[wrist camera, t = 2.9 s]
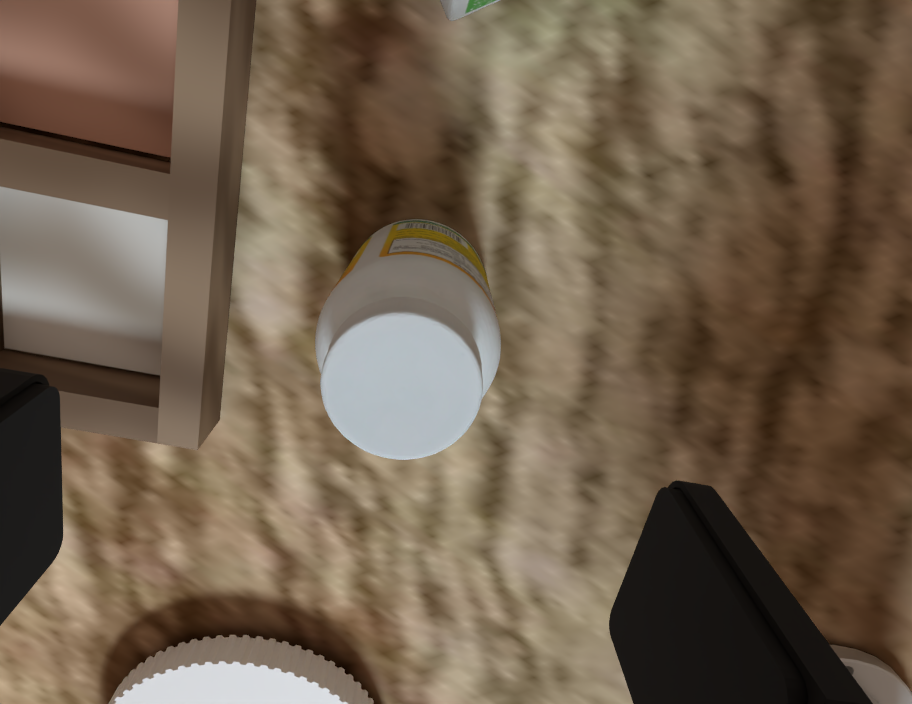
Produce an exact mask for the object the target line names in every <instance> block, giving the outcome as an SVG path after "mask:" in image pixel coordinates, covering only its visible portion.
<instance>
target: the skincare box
mask: <svg viewBox="0 0 912 704" xmlns="http://www.w3.org/2000/svg"><path fill="white" fill-rule="evenodd" d="M440 1H441V4H442V6H443V9H444V11H445V14H446V16H447V18H448V19H449V20H450V21H454V20H457V19H460V18H462V17H464V16H466V15H468V14H471V13H473V12H475V11H477V10H479V9H481V8H484V7H486V6H488V5H490V4H493V3H495V2H497V1H500V0H440Z"/></svg>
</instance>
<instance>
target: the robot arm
mask: <svg viewBox="0 0 912 704" xmlns="http://www.w3.org/2000/svg"><path fill="white" fill-rule="evenodd" d="M62 540H63V506H62V462H61V419H60V394H59V391H58V389H57V388H56V387H53V386H49V382H48V380H47V378H46V377H45V376H44V375H41V374H35V373H29V372H23V371H17V370H11V369H5V368H0V625H1V624H2V623H3V622H4V620H5V619H6V618H7V617H8V616H9V614H10V613H11V612H12V611H13V610H14V608H15V607H16V606H17V605H18V603H19V602H20V601H21V600H22V599H23V597H24V596H25V595H26V594H27V593H28V591H29V590H30V589H31V588H32V587H33V585H34V584H35V583H36V582H37V580H38V579H39V578H40V577H41V576H42V574H43V573H44V572H45V571H46V570H47V568H48V567H49V566H50V565H51V564H52V562H53V561H54V559H55V558H56V556H57V554H58V552H59V550H60V547H61V544H62ZM609 629H610V635H611V638H612V641H613V644H614V647H615V650H616V653H617V656H618V659H619V662H620V665H621V668H622V671H623V674H624V677H625V680H626V683H627V686H628V689H629V691H630V694H631V697H632V700H633V703H634V704H912V692H911V691H910V689H909V688H908V686H907V685H906V684H905V683H904V682H903V681H902V679H901V678H900V677H899V676H898V675H897V674H896V673H895V672H894V670H893V669H892V668H891V667H890V666H888V665H887V664H885V663H884V662H882V661H881V660H879V659H878V658H876V657H875V656H872V655H870V654H867V653H865V652H862V651H860V650H857V649H853V648H848V647H843V646H838V645H829V643H828V642H827V641H826V639H825V638H824V637H823V635H822V634H821V633H820V631H819V630H818V629H817V627H816V626H815V624H814V623H813V622H812V620H811V619H810V618H809V616H808V615H807V614H806V612H805V611H804V610H803V608H802V607H801V606H800V604H799V603H798V601H797V600H796V599H795V597H794V596H793V595H792V593H791V592H790V591H789V589H788V588H787V587H786V585H785V584H784V583H783V581H782V580H781V578H780V577H779V576H778V574H777V573H776V572H775V570H774V569H773V568H772V566H771V565H770V564H769V562H768V561H767V560H766V558H765V557H764V555H763V554H762V553H761V551H760V550H759V549H758V547H757V546H756V545H755V543H754V542H753V541H752V539H751V538H750V537H749V535H748V534H747V532H746V531H745V530H744V528H743V527H742V526H741V524H740V523H739V522H738V520H737V519H736V518H735V516H734V515H733V514H732V512H731V511H730V509H729V508H728V507H727V505H726V504H725V503H724V501H723V500H722V499H721V497H720V496H719V495H718V493H717V492H716V491H715V489H713V488H712V487H711V486H707V485H701V484H695V483H689V482H683V481H674V482H672V483H671V484H670V485H669V487H668V488H666V487H664V488H661V489H660V490H659V491H658V493H657V495H656V498H655V500H654V503H653V505H652V508H651V511H650V513H649V516H648V518H647V521H646V523H645V526H644V528H643V531H642V534H641V536H640V539H639V541H638V544H637V546H636V549H635V551H634V554H633V557H632V559H631V562H630V564H629V567H628V569H627V572H626V574H625V577H624V580H623V582H622V585H621V587H620V590H619V592H618V595H617V597H616V600H615V602H614V605H613V608H612V610H611V614H610V620H609Z"/></svg>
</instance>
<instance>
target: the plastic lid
mask: <svg viewBox="0 0 912 704" xmlns="http://www.w3.org/2000/svg"><path fill="white" fill-rule="evenodd" d="M324 658H325V657H324V656H322V655H318V656H316V655H314V654H313V651H312V650H309V649H308V650H306V651H305V650H302V649H301V646H299V645H295V646H291V645H289V642H286V641H283V642H282V643H279V642H276V639H273V638H270V639H269V640H264V639H263V637H260V636H257V637H256V638H250V636H249V635H243V637H237V636H236V635H230V636H229V637H226V638H224V637H223V636H222V635H218V636H216V638H213V639H211V638H210V637H204V638H203V640H200V641H198V640H197V639H192V640H191V641H190V643H187V644H186V643H185V642H181V643H179V644H178V646H177V647H173V646H170V647H168V648H167V649H166V651H165V652H163V651H159V652H157V653H156V655H155V657H152V656H150V657H148V658H147V659H146V661H145V663H143V662H141V663H139V664H138V666H137V668H136V669H132V670H131V671H130V673H129V675H128V677H127V676H126V677H125V678H124V679H123V681H122V683H121V684H119V686H118V688H117V689H116V691H115V693H114V695H113V696H112V698H111V700H110V702H109V703H108V704H374V700H373V699H372V698H368V692H367V691H366V690H362V689H361V684H360V683H359V682H355V681H353V678H354V677H353V676H352V675H351V674H348V675H347V674H345V673H344V672H345V669H343V668H342V667H339V668H337V667H336V666H335V663H334V662H333V661H326V660H324Z"/></svg>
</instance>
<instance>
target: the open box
mask: <svg viewBox="0 0 912 704" xmlns="http://www.w3.org/2000/svg"><path fill="white" fill-rule="evenodd" d="M255 7H256V0H0V122H4V123H9V124H14V125H18V126H23V127H28V128H33V129H37V130H42V131H47V132H51V133H56V134H61V135H66V136H70V137H75V138H80V139H85V140H89V141H94V142H99V143H104V144H108V145H113V146H118V147H122V148H127V149H132V150H137V151H141V152H146V153H151V154H156V155H160V156H165V157H170V158H171V162H167V161H162V160H158V159H153V158H148V157H143V156H139V155H134V154H129V153H124V152H120V151H115V150H110V149H105V148H101V147H96V146H91V145H86V144H82V143H77V142H72V141H67V140H63V139H58V138H53V137H48V136H44V135H39V134H34V133H30V132H25V131H20V130H15V129H11V128H6V127H1V126H0V264H1V267H0V368H5V369H11V370H17V371H23V372H29V373H35V374H41V375H44V376H45V377H46V378H47V380H48V382H49V386H53V387H56V388H57V389H58V391H59V394H60V419H61V427H63V428H69V429H75V430H81V431H87V432H93V433H98V434H104V435H110V436H116V437H122V438H128V439H134V440H140V441H146V442H152V443H158V444H164V445H170V446H176V447H182V448H188V449H194V450H198V449H199V448H200V446H201V445H202V443H203V442H204V441H205V439H206V438H207V436H208V435H209V434H210V432H211V431H212V430H213V428H214V427H215V425H216V424H217V423H218V421H219V420H220V409H221V398H222V386H223V375H224V363H225V352H226V340H227V329H228V317H229V306H230V294H231V283H232V271H233V260H234V248H235V237H236V225H237V214H238V202H239V191H240V179H241V168H242V156H243V145H244V133H245V122H246V110H247V99H248V87H249V76H250V65H251V53H252V42H253V30H254V19H255ZM1 285H2V288H1ZM2 306H3V309H2ZM3 328H4V330H3ZM4 348H8V349H13V350H19V351H25V352H30V353H36V354H42V355H47V356H53V357H59V358H64V359H70V360H75V361H81V362H87V363H92V364H98V365H104V366H109V367H115V368H120V369H126V370H132V371H137V372H143V373H149V374H154V375H160V376H154V375H148V374H143V373H137V372H131V371H126V370H120V369H115V368H109V367H103V366H98V365H92V364H86V363H81V362H75V361H69V360H64V359H58V358H53V357H47V356H41V355H36V354H30V353H24V352H19V351H13V350H8V349H4Z"/></svg>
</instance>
